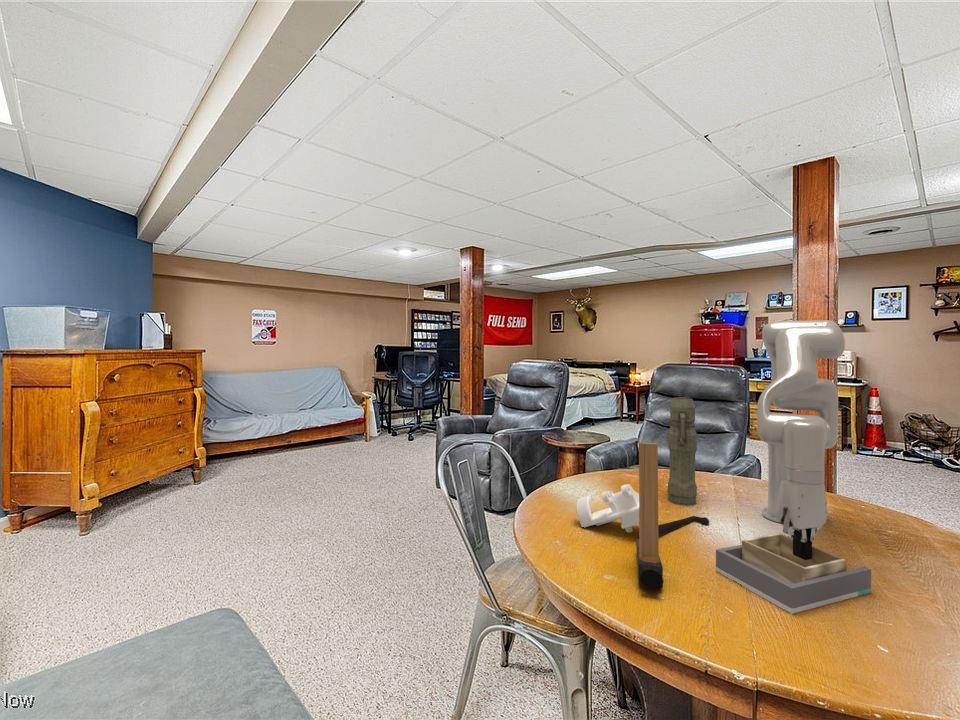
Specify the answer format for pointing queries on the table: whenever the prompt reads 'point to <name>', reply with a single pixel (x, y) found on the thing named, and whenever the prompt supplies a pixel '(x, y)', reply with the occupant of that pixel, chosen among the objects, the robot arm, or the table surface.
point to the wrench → (680, 524)
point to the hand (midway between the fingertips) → (802, 557)
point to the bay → (793, 594)
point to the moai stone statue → (682, 452)
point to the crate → (789, 559)
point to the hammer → (648, 519)
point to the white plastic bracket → (611, 509)
